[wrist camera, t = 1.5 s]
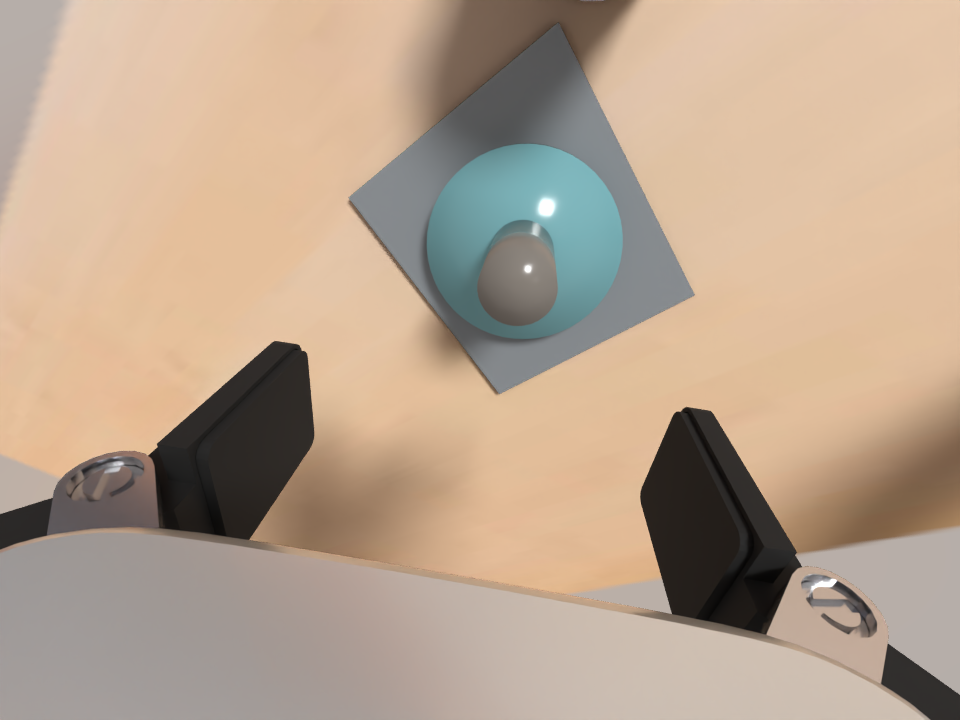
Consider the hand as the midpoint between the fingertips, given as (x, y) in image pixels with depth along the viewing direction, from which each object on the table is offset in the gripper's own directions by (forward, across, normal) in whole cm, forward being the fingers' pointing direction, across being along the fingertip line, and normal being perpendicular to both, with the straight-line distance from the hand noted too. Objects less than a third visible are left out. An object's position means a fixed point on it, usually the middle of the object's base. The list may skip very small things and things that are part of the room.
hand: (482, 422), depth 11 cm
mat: (+17, -1, 0) cm, 17 cm away
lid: (+17, -1, 0) cm, 17 cm away
